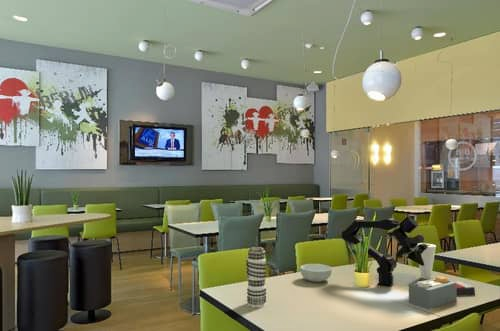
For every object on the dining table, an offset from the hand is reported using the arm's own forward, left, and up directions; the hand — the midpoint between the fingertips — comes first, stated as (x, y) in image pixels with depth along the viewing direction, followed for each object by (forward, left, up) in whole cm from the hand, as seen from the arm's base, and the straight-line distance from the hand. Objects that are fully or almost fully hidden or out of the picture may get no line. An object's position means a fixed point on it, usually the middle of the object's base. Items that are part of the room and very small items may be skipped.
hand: (423, 265), depth 188 cm
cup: (-6, +31, -14) cm, 35 cm away
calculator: (+11, +12, -14) cm, 21 cm away
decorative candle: (-56, -60, -14) cm, 83 cm away
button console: (+6, -10, -14) cm, 18 cm away
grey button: (+4, -16, -7) cm, 18 cm away
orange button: (+8, -3, -7) cm, 11 cm away
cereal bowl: (-53, -9, -14) cm, 55 cm away
